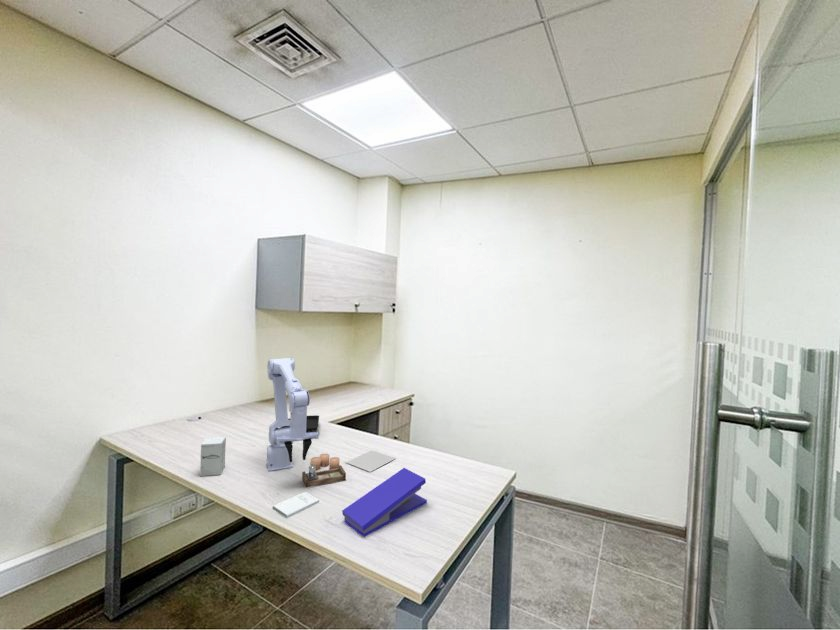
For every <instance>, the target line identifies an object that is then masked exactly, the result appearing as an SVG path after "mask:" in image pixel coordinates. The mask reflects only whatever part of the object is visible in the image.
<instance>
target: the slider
mask: <svg viewBox="0 0 840 630" xmlns="http://www.w3.org/2000/svg"><path fill="white" fill-rule="evenodd" d="M315 472H317V471H316V466H315V465H311V466H308V472H307V473H306V472H305V473H306V475H307V477H308V481H312V480H317V479H318V477H317V475H316V473H315Z"/></svg>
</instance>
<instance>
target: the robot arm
mask: <svg viewBox="0 0 840 630" xmlns="http://www.w3.org/2000/svg"><path fill="white" fill-rule="evenodd" d="M295 363H296V362H295V360H294V358H293V357H285V358H284V357H283V358H269V360H267V366H266V367H267V377H268V380H270V381H272V385H273V396H274V397H273V398H274V413H275V414H274V416H275V420H274V421H273V422H272V423H271V424H270V426H269V427H268V442H269V444H270V445H267V451H266V465H267V466H266V467H267V470H268V472H271V471H272V472H273V471H278V470H279V471H280V470H283V469H290V468H291V469H292V468H294V464H293V447H294V446H293V444H294V442H300V441H301V442H302V454H301V455H302V460H303V461H305V460H306V458H307V454H308V451H309V449H310V447H311V446H312V442H313V441H312V440H313V439H315V440H318V439H319V432H315V431H313V432H307V433H306V421H307V416H308V414H307V413H308V406H309V405H310V400H311V397H310V393H309V391H308V390H307V389H304V388H303V386H302V384H301V381H300V379H299V378H296V376H295V373H294V371H295V369H296V368H295V367H296V364H295ZM287 396H288V398H287ZM287 400H288V402H287ZM288 407H289V408H288ZM288 409H289V413H290V416H289V417H288ZM289 419H290V420H289ZM283 426H288V427H284V428H283ZM275 428H278V429H275Z"/></svg>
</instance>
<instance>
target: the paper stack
mask: <svg viewBox="0 0 840 630" xmlns="http://www.w3.org/2000/svg"><path fill="white" fill-rule="evenodd" d="M395 459H397V458H396V457H393V456H390V455H387V454H385V453H382V452H378V451H376V450H373V449H372V450H369V451H367V452H365V453H363V454H361V455H359V456H356V457H354V458H352V459H350V460H348V461H345V463H346V464H349V465H352V466H354V467H357V468H359V469H362V470H365V471H367V472H369V473H370V472H373V471H375V470H377V469H379V468H380V467H382V466H384V465H386V464H388V463H390V462H392V461H394V460H395Z"/></svg>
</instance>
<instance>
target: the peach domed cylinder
mask: <svg viewBox="0 0 840 630" xmlns="http://www.w3.org/2000/svg"><path fill="white" fill-rule="evenodd" d="M339 466H340V458H339V456H334V457H329V466H328V470H331V469H337V468H339Z"/></svg>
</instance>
